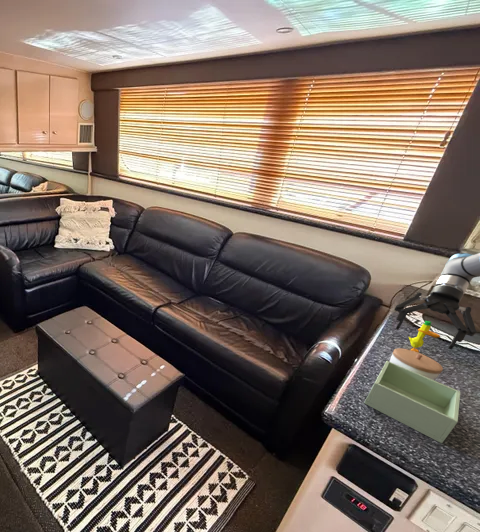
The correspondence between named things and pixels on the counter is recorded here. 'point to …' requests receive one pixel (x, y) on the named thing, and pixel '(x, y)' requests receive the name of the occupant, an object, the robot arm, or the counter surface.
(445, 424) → the bin
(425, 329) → the toy figure
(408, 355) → the trinket box
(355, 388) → the counter surface
